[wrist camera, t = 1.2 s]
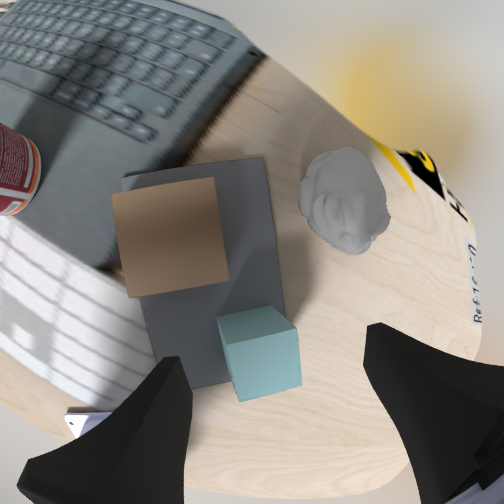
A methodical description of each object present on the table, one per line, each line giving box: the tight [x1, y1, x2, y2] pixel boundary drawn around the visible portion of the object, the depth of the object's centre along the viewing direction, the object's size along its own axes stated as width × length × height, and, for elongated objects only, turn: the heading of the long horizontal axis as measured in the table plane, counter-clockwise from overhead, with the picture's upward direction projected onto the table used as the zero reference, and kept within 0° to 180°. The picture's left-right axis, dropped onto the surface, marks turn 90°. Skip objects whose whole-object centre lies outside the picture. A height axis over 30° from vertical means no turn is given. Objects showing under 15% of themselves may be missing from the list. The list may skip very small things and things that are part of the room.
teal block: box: [216, 305, 302, 402], centre depth 17 cm, size 4×4×5 cm
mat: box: [120, 158, 286, 389], centre depth 19 cm, size 16×10×1 cm, turn 8°
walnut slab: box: [111, 177, 230, 298], centre depth 17 cm, size 6×6×3 cm
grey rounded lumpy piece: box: [298, 146, 391, 255], centre depth 17 cm, size 6×7×7 cm
